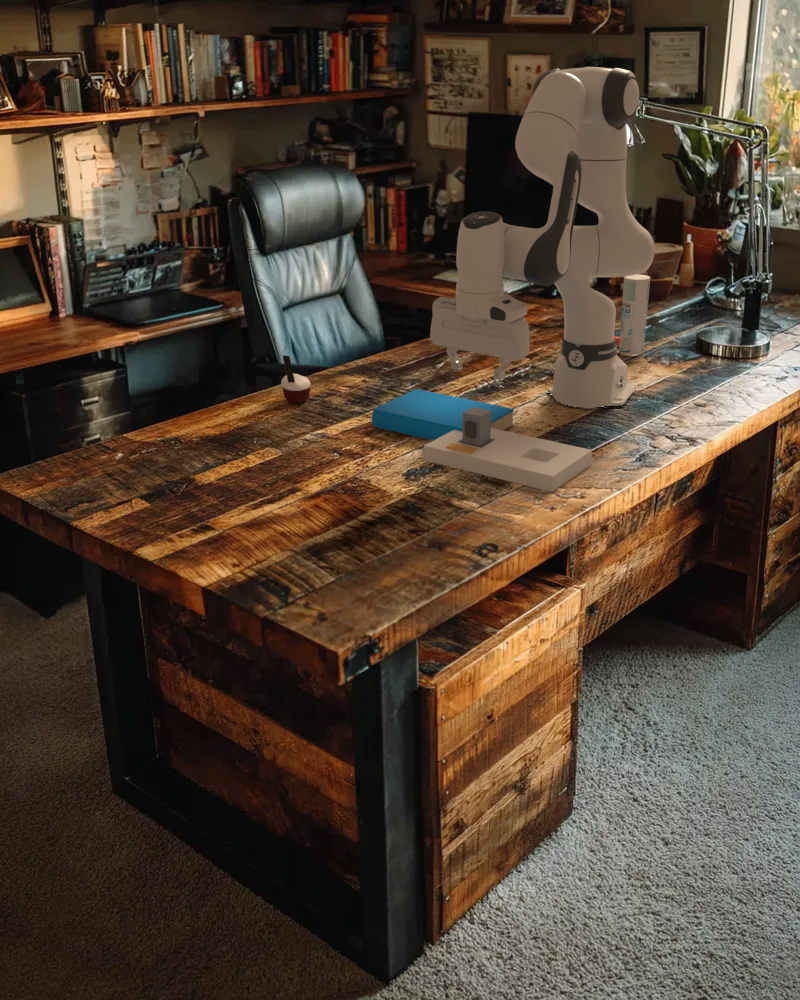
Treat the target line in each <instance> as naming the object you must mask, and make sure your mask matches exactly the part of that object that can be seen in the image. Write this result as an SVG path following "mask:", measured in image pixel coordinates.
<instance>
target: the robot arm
mask: <svg viewBox="0 0 800 1000" xmlns="http://www.w3.org/2000/svg"><path fill="white" fill-rule="evenodd" d="M533 83H534V84H533V86H532V89H531V95H530V100H529V101H528V104H527V106H526V108H525V111H524V113H523V116H522V119H521V121H520V123H519V125H518V126H519V127H518V130H517V133H516V136H515V142H514V143H515V145H514V146H515V151H516V154H517V157H518V159H519V161H520V162H521V164H522V165H523V166H524V167H525V168H526V169H527V170H528V171H529V172H530V173H532V174H533V175H535V176H536V177H538V178H540V179H542V180H544V181H545V182H547V183H549V184H550V185H552V187H553V188H552V194H551V195H552V196H551V201H550V207H549V212H548V217H547V222H546V224H545V225H544V226H541V227H538V228H533V227H526V226H518V225H513V224H512V225H511V224H509V223H505V222H503V217H502V216H501V215H500V214H499V213H496V212H493V211H478V212H477V211H476V212H472V213H470V214H468V215H466V216H465V217H463V218H462V220H461V222H460V223H459V224H460V226H459V229H458V235H457V241H456V242H457V243H456V258H455V259H456V261H455V262H456V263H455V265H456V269H457V275H458V276H457V281H456V286H455V298H449V297H445V296H439V297H438V298H437V299H434V301H433V302H432V310H431V311H432V317H431V323H430V332H429V339H430V341H431V343H432V344H433V345H435V346H438V347H439V346H440V347H444V348H446V354H447V356H448V358H449V360H450V362H451V370H452V371H456V372H460V371H462V369H463V363H464V362H463V359H460V358H459V355H458V353H457V351H464V352H470V353H474V354H480V355H485V356H490V357H495V358H498V363H500V365H499V367H497V368H495V369H493V379H495V380H500V381H502V380H503V379H505V377H506V369H507V368H508V366H509V365H510V363H511V362H512V361H515V362H518V361H521V360H523V359H525V358H526V357H527V356H528V355H529V353H530V345H531V344H530V341H531V339H530V327H529V326H530V325H529V323H528V321H527V319H526V318H525V316H526V315H527V313H528V305H527V304H525V303H524V302H522V301H520V300H518V299H516V298H514V297H513V296H511V295H509V294H508V293H507V292H505V291H504V290H505V288H504V287H505V285H504V281H503V278H507V279H513V280H520V281H525V282H529V283H533V284H536V285H539V286H544V287H550V286H551V285H553V284H554V285H555V286H556V288H557V290H558V292H559V294H560V296H561V298H562V303H563V311H564V312H563V313H564V320H563V321H564V326H563V329H564V330H563V331H564V332H563V337H561V338H562V339H561V343H560V353H561V356H559V357H558V358H557V359H556V360H555V364H554V365H555V366H554V373H553V381H552V386H550V387H548V388H547V392H549V393H550V394H552V395H553V396H552V395H551V396H552V398H553V397H554V399H555V400H556V401H557V402H556V401H555V400H554V399H553V400H554V401H555V402H556V403H558V402H560V403H561V404H560V403H559V404H560V405H563V404H564V405H563V406H566V405H568V406H567V407H570V406H573V407H572V408H576V407H583V408H582V409H591V408H590V407H602V406H609V405H612V406H613V405H615V406H616V405H617V406H618V405H623V404H624V403H625V402H626V401H627V399H628V398H629V397H630V396H631V394H632V393H633V391H634V390H635V389H636V388H637V387H638V385H636V384H635V383H633V382H630V381H628V374H629V372H628V365H627V364H626V363H625V362H624V361H623V360H622V359H621V358H620V357H619V356H618V350H617V348H618V347H619V345H620V343H621V337H620V336H615V329H616V326H615V325H616V316H617V315H616V314H617V309H616V305H615V303H614V301H613V299H611V298H610V297H609V296H606V295H605V294H604V293H602V292H599V291H597V290H595V289H594V288H592V287H591V279H594V278H624V277H626V276H631V275H636V274H640V275H641V274H643V273H646V271H647V270H648V269H649V268H650V266H651V265H652V263H653V261H654V258H655V253H656V247H655V242H654V239H653V236H652V234H651V233H650V232H649V230H647V229H646V228H645V227H643V226H642V224H640V223H639V222H638V221H637V219H636V218H635V217H634V215H633V213H632V211H631V209H630V206H629V203H628V199H627V190H626V188H627V187H626V180H627V179H626V177H627V176H626V174H627V160H628V159H627V158H628V136H627V135H628V131H627V124H628V123H630V121H631V120H632V119H633V118H634V115H635V114H636V113H637V111H638V108H639V104H640V98H641V96H640V94H641V91H640V89H641V88H640V84H639V80H638V79H637V77H636V76H635V74H634V73H633V72H632V71H631V70H627V69H624V68H619V67H614V68H607V67H597V66H585V67H575V68H567V69H566V68H565V69H560V68H554V69H551V70H547V71H544V72H542V73H541V74H540V75H539V76H538V77H537V78H536V80H535V82H533ZM578 204H579V205H580V206H582V207H584V208H586V209H588V211H589V210H590V211H591V212H593V213H595V214H596V215H597V217H598V224H595V225H574V224H575V219H576V215H577V214H576V213H577V207H578ZM637 389H638V388H637ZM550 394H549V395H550ZM631 397H632V396H631ZM631 397H630V398H631ZM627 402H628V401H627ZM627 402H626V403H627Z"/></svg>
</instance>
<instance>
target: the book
mask: <svg viewBox="0 0 800 1000" xmlns="http://www.w3.org/2000/svg"><path fill="white" fill-rule="evenodd" d="M473 407H476V408H480V409H485V410H490V411H491V428H494V429H499V430H503V431H507V429H509V428H511V427H512V426H514V424H513V423H514V422H513V421H514V419H513V417H514V412H515V409H514V408H511V407H507V406H503V405H497V404H493V403H488V402H482V401H478V400H477V401H476V400H472V399H468V398H463V397H459V396H453V395H447V394H443V393H439V392H432V391H428V390H422V389H418V388H416V389H413V390H411V391H409V392H407V393H404V394H402V395H400V396H399V397H396V398H395V399H392V400H390V401H387V402H385V403H383V404H380V405H379V406H376V407H375V408H373V409H372V415H371V422H372V425H373V427H374V428H379V429H384V430H387V431H391V432H397V433H401V434H404V435H408V436H414V437H418V438H422V439H425V440H430V441H434V440H436V439H438V438H439V437H441V436H443V435H445V434H447V433H449V432H451V431H453V430H459V431H462V429H463V412H465V411H467V410H469V409H471V408H473Z"/></svg>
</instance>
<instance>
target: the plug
mask: <svg viewBox="0 0 800 1000" xmlns="http://www.w3.org/2000/svg"><path fill="white" fill-rule="evenodd" d="M490 437H491V411H490V410H485V409H480V408H476V407H473V408H471V409H469V410H467V411H465V412H463V429H462V443H463V444H467V445H472V446H476V447H480V448H482V447H484V446H485V445H487V444H489V443H490Z"/></svg>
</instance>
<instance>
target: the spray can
mask: <svg viewBox="0 0 800 1000" xmlns="http://www.w3.org/2000/svg"><path fill="white" fill-rule="evenodd" d="M650 284H651V276H649V275H646V274H641V273H640V274H636V275H631V276H626V277H623V285H622V286H623V287H622V289H623V290H622V301H621V302H622V303H621V304H622V305H621V314H620V315H621V316H620V318H621V319H620V328H619V329H620V333H619V337H621V343H620V345H619V346H618V353H619V352H620V353H623V354H629V355H632V354H633V355H634V354H636V355H637V354H642V353H643V354H644V350H645V339H646V331H647V330H646V328H647V326H646V325H647V317H648V307H649V296H650V287H651V286H650Z"/></svg>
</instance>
